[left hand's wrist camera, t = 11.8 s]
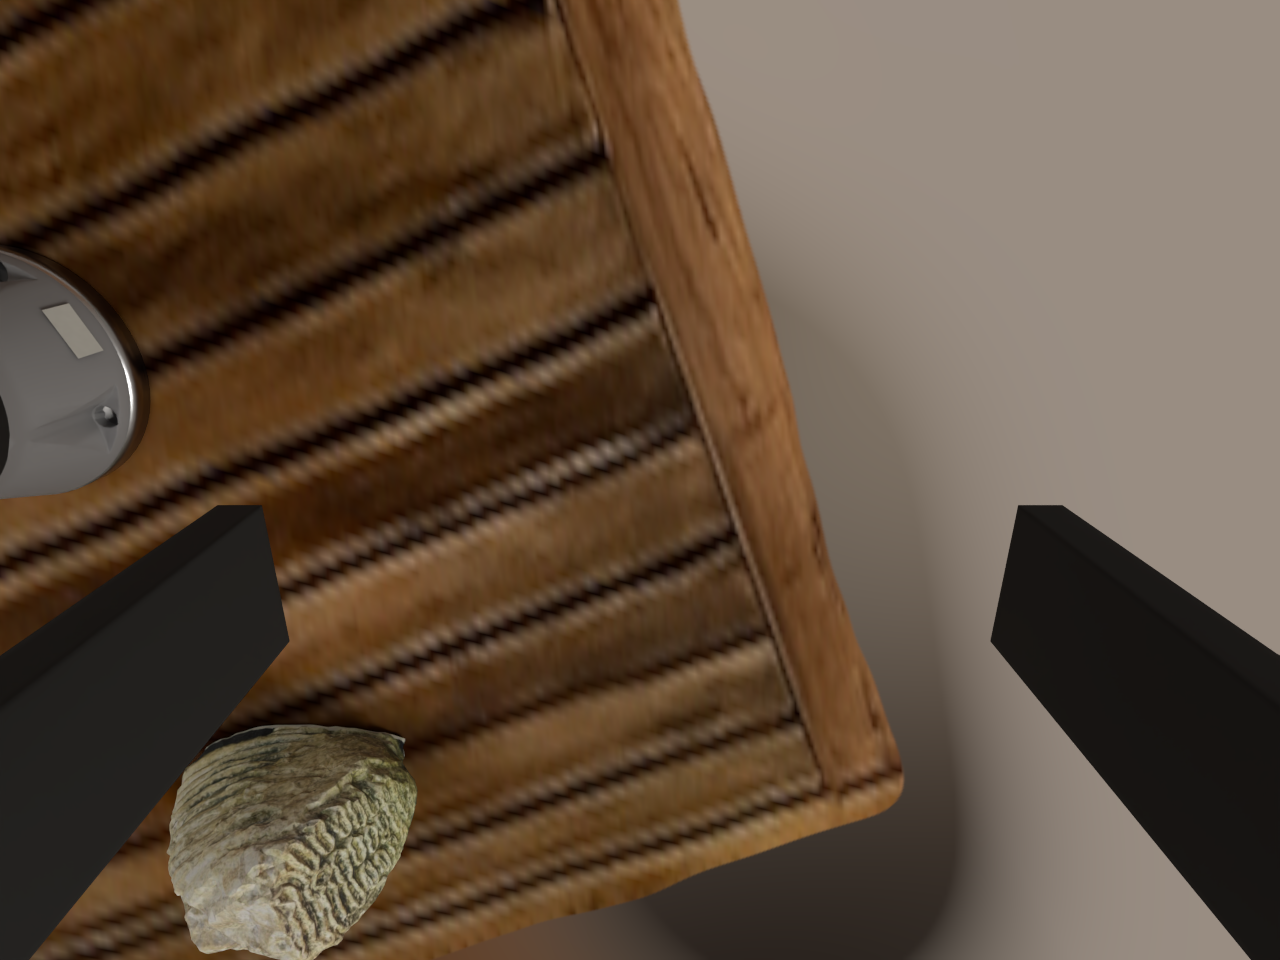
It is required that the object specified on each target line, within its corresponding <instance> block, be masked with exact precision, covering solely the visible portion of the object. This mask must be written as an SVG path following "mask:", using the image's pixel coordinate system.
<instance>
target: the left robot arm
mask: <svg viewBox="0 0 1280 960" xmlns="http://www.w3.org/2000/svg"><path fill="white" fill-rule="evenodd" d="M149 412H150V388H149V381H148V376H147V372H146V368H145V364H144V362H143V359H142V356H141V353H140V351H139V349H138V347H137V344H136V342H135V340H134V339H133V337H132V335H131V333H130V331H129V330H128V328H127V327H126V325H125V324H124V322H123V321H122V319H121V318H120V317H119V315H118V314H117V313H116V311H115V310H114V309H113V308H112V307H111V305H110V304H109V303H108V302H107V301H106V300H105V299H104V298H103V297H102V296H101V295H100V294H99V293H98V292H97V291H96V290H95V289H94V288H93V287H91V286H90V285H89V284H88V283H86V282H85V281H84V280H83V279H81V278H80V277H79V276H77V275H76V274H74V273H73V272H71V271H70V270H68V269H66V268H65V267H63V266H61V265H60V264H58V263H56V262H54V261H52V260H50V259H48V258H46V257H43V256H41V255H38V254H36V253H33V252H30V251H27V250H23V249H20V248H16V247H11V246H5V245H0V499H5V498H16V497H28V496H39V495H51V494H59V493H64V492H68V491H72V490H75V489H78V488H80V487H83V486H85V485H87V484H89V483H91V482H93V481H95V480H97V479H99V478H101V477H103V476H105V475H107V474H109V473H111V472H112V471H114V470H116V469H117V468H118V467H120V466H121V465H122V464H123V463H124V462H125V461H126V460H127V459H128V458H129V457H130V456H131V455H132V454H133V452H134V451H135V450H136V448H137V447H138V445H139V443H140V442H141V439H142V437H143V435H144V433H145V430H146V426H147V423H148V418H149ZM288 642H289V636H288V631H287V626H286V621H285V617H284V612H283V607H282V602H281V597H280V592H279V587H278V582H277V577H276V573H275V568H274V563H273V558H272V553H271V548H270V543H269V538H268V534H267V529H266V524H265V519H264V514H263V509H262V505H217V506H216V507H214V508H213V509H212V510H210V511H209V512H207V513H206V514H204V515H203V516H201V517H200V518H199V519H197V520H196V521H194V522H193V523H191V524H190V525H188V526H187V527H186V528H184V529H183V530H181V531H180V532H178V533H177V534H175V535H174V536H173V537H171V538H170V539H168V540H167V541H165V542H164V543H162V544H161V545H160V546H158V547H157V548H155V549H154V550H152V551H151V552H149V553H148V554H147V555H145V556H144V557H142V558H141V559H139V560H138V561H136V562H135V563H134V564H132V565H131V566H129V567H128V568H126V569H125V570H124V571H122V572H121V573H119V574H118V575H116V576H115V577H113V578H112V579H111V580H109V581H108V582H106V583H105V584H103V585H102V586H100V587H99V588H98V589H96V590H95V591H93V592H92V593H90V594H89V595H87V596H86V597H85V598H83V599H82V600H80V601H79V602H77V603H76V604H74V605H73V606H72V607H70V608H69V609H67V610H66V611H64V612H63V613H61V614H60V615H59V616H57V617H56V618H54V619H53V620H51V621H50V622H48V623H47V624H46V625H44V626H43V627H41V628H40V629H38V630H37V631H35V632H34V633H33V634H31V635H30V636H28V637H27V638H25V639H24V640H22V641H21V642H20V643H18V644H17V645H15V646H14V647H12V648H11V649H9V650H8V651H7V652H5V653H4V654H2V655H1V656H0V960H29V959H30V958H31V957H32V955H33V954H34V953H35V952H36V951H37V949H38V948H39V947H40V946H41V944H42V943H43V942H44V941H45V940H46V938H47V937H48V936H49V935H50V933H51V932H52V931H53V930H54V929H55V927H56V926H57V925H58V924H59V922H60V921H61V920H62V919H63V918H64V916H65V915H66V914H67V913H68V911H69V910H70V909H71V908H72V907H73V905H74V904H75V903H76V902H77V900H78V899H79V898H80V897H81V896H82V894H83V893H84V892H85V891H86V889H87V888H88V887H89V886H90V885H91V883H92V882H93V881H94V880H95V878H96V877H97V876H98V875H99V874H100V872H101V871H102V870H103V869H104V867H105V866H106V865H107V864H108V863H109V861H110V860H111V859H112V858H113V856H114V855H115V854H116V853H117V852H118V850H119V849H120V848H121V847H122V845H123V844H124V843H125V842H126V841H127V839H128V838H129V837H130V836H131V834H132V833H133V832H134V831H135V830H136V828H137V827H138V826H139V825H140V823H141V822H142V821H143V820H144V819H145V817H146V816H147V815H148V814H149V812H150V811H151V810H152V809H153V808H154V806H155V805H156V804H157V803H158V801H159V800H160V799H161V798H162V797H163V795H164V794H165V793H166V792H167V790H168V789H169V788H170V787H171V786H172V784H173V783H174V782H175V781H176V779H177V778H178V777H179V776H180V775H181V773H182V772H183V771H184V770H185V768H186V767H187V766H188V765H189V764H190V762H191V761H192V760H193V759H194V757H195V756H196V755H197V754H198V753H199V751H200V750H201V749H202V748H203V746H204V745H205V744H206V743H207V742H208V740H209V739H210V738H211V737H212V735H213V734H214V733H215V732H216V731H217V729H218V728H219V727H220V726H221V724H222V723H223V722H224V721H225V719H226V718H227V717H228V716H229V715H230V713H231V712H232V711H233V710H234V708H235V707H236V706H237V705H238V704H239V702H240V701H241V700H242V699H243V697H244V696H245V695H246V694H247V693H248V691H249V690H250V689H251V688H252V686H253V685H254V684H255V683H256V682H257V680H258V679H259V678H260V677H261V675H262V674H263V673H264V672H265V671H266V669H267V668H268V667H269V666H270V664H271V663H272V662H273V661H274V660H275V658H276V657H277V656H278V655H279V653H280V652H281V651H282V650H283V649H284V647H285V646H286V645H287V644H288ZM991 642H992V644H993V645H994V646H995V647H996V649H997V650H998V651H999V652H1000V653H1001V655H1002V656H1003V657H1004V658H1005V660H1006V661H1007V662H1008V663H1009V664H1010V666H1011V667H1012V668H1013V669H1014V671H1015V672H1016V673H1017V674H1018V675H1019V677H1020V678H1021V679H1022V680H1023V682H1024V683H1025V684H1026V685H1027V686H1028V688H1029V689H1030V690H1031V691H1032V693H1033V694H1034V695H1035V696H1036V697H1037V699H1038V700H1039V701H1040V702H1041V704H1042V705H1043V706H1044V707H1045V708H1046V710H1047V711H1048V712H1049V713H1050V715H1051V716H1052V717H1053V718H1054V720H1055V721H1056V722H1057V723H1058V724H1059V726H1060V727H1061V728H1062V729H1063V730H1064V732H1065V733H1066V734H1067V735H1068V737H1069V738H1070V739H1071V740H1072V742H1073V743H1074V744H1075V745H1076V746H1077V748H1078V749H1079V750H1080V751H1081V752H1082V754H1083V755H1084V756H1085V757H1086V759H1087V760H1088V761H1089V762H1090V763H1091V765H1092V766H1093V767H1094V768H1095V770H1096V771H1097V772H1098V773H1099V775H1100V776H1101V777H1102V778H1103V779H1104V781H1105V782H1106V783H1107V784H1108V786H1109V787H1110V788H1111V789H1112V790H1113V792H1114V793H1115V794H1116V795H1117V796H1118V798H1119V799H1120V800H1121V801H1122V803H1123V804H1124V805H1125V806H1126V807H1127V809H1128V810H1129V811H1130V812H1131V814H1132V815H1133V816H1134V817H1135V818H1136V820H1137V821H1138V822H1139V823H1140V825H1141V826H1142V827H1143V828H1144V830H1145V831H1146V832H1147V833H1148V834H1149V836H1150V837H1151V838H1152V839H1153V841H1154V842H1155V843H1156V844H1157V845H1158V847H1159V848H1160V849H1161V850H1162V851H1163V853H1164V854H1165V855H1166V856H1167V858H1168V859H1169V860H1170V861H1171V863H1172V864H1173V865H1174V866H1175V867H1176V869H1177V870H1178V871H1179V872H1180V873H1181V875H1182V876H1183V877H1184V878H1185V880H1186V881H1187V882H1188V883H1189V885H1190V886H1191V887H1192V888H1193V889H1194V891H1195V892H1196V893H1197V894H1198V896H1199V897H1200V898H1201V899H1202V900H1203V902H1204V903H1205V904H1206V905H1207V907H1208V908H1209V909H1210V910H1211V911H1212V913H1213V914H1214V915H1215V916H1216V918H1217V919H1218V920H1219V921H1220V922H1221V924H1222V925H1223V926H1224V927H1225V929H1226V930H1227V931H1228V932H1229V933H1230V935H1231V936H1232V937H1233V938H1234V940H1235V941H1236V942H1237V943H1238V944H1239V946H1240V947H1241V948H1242V949H1243V950H1244V952H1245V953H1246V954H1247V955H1248V957H1249V958H1250V959H1251V960H1280V655H1278V654H1276V653H1275V652H1273V651H1272V650H1271V649H1269V648H1268V647H1266V646H1265V645H1263V644H1262V643H1260V642H1259V641H1258V640H1256V639H1255V638H1253V637H1252V636H1250V635H1249V634H1247V633H1246V632H1245V631H1243V630H1242V629H1240V628H1239V627H1237V626H1236V625H1234V624H1233V623H1232V622H1230V621H1229V620H1227V619H1226V618H1224V617H1223V616H1221V615H1220V614H1219V613H1217V612H1216V611H1214V610H1213V609H1211V608H1210V607H1208V606H1207V605H1205V604H1204V603H1203V602H1201V601H1200V600H1198V599H1197V598H1195V597H1194V596H1193V595H1191V594H1190V593H1188V592H1187V591H1185V590H1184V589H1182V588H1181V587H1180V586H1178V585H1177V584H1175V583H1174V582H1172V581H1171V580H1169V579H1168V578H1167V577H1165V576H1164V575H1162V574H1161V573H1159V572H1158V571H1156V570H1155V569H1154V568H1152V567H1151V566H1149V565H1148V564H1146V563H1145V562H1144V561H1142V560H1141V559H1139V558H1138V557H1136V556H1135V555H1133V554H1132V553H1131V552H1129V551H1128V550H1126V549H1125V548H1123V547H1122V546H1120V545H1119V544H1118V543H1116V542H1115V541H1113V540H1112V539H1110V538H1109V537H1107V536H1106V535H1105V534H1103V533H1102V532H1100V531H1099V530H1097V529H1096V528H1094V527H1093V526H1092V525H1090V524H1089V523H1087V522H1086V521H1084V520H1083V519H1081V518H1080V517H1078V516H1077V515H1076V514H1074V513H1073V512H1071V511H1070V510H1068V509H1067V508H1066V507H1064V506H1063V505H1018V509H1017V514H1016V519H1015V524H1014V529H1013V533H1012V538H1011V543H1010V548H1009V553H1008V558H1007V563H1006V568H1005V573H1004V578H1003V582H1002V587H1001V592H1000V597H999V602H998V607H997V612H996V617H995V622H994V626H993V631H992V636H991Z"/></svg>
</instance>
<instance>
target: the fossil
mask: <svg viewBox="0 0 1280 960" xmlns="http://www.w3.org/2000/svg"><path fill="white" fill-rule="evenodd" d="M404 742H405V739H404V738H401V737H398V736H396V735H393V734H389V733H386V732H373V731H368V730H363V729H358V728H345V727H339V726H333V727H324V726H318V725H271V726H261V727H256V728H252V729H249V730H247V731H243V732H239V733H236V734H234V735H233V736H231V737H229V738H223V739H220V740H218V741H216V742H214V743H213V744H211V745H210V746H208V747H206V749H205V751H204V753H203V754H202V755H201V756H200V757H199V758H198V760H196V761H195V762H193V763H192V764H191V765H189V766H188V767H187V768H186V769H185V771H184V774H183V776H182V785H181V787H180V788H179V789H178V791H177V798H176V802H175V807H174V810H173V812H172V813H173V814H172V816H171V818H172V820H171V823H170V835H171V841H170V846H169V849H168V851H167V853H168V854H169V855H170V859H169V863H168V864H169V867H168V869H169V874H170V876H171V877H172V880H171V881H172V883H173V885H174V892H175V893H176V894H177V896H178V895H181V898H182V901H183V903H184V907H185V913H186V914H185V920H186V922H187V924H188V927H189V930H190V934H191V939H192V941H193V942H194V943H195V944H196V946H197V947H198V949H199V950H200V951H201V952H204V953H207V954H209V953H214V952H219V951H223V950H227V949H235V950H242V949H246V950H249V951H250V952H253V953H257V954H261V955H265V956H268V957H271V958H276V959H280V960H313V959H314V958H316V957H317V956H318V955H319V954H320V953H321V952H322V951H323V950H324V949H327V948H329V947H331V946H334V945H337V944H338V943H339V942H340V941H342V940H343V936H344V934H345V933H346V932H347V931H348V930H349V929H350V927H351V926H352V925H353V924H355V923H356V922H357V921H358V920H359V919H360V918H361V916H362V915H363V914H364V913H365V911H366V910H367V909H368V908H369V907H370V906H371V905H372V904H373V903H374V901H375V900H376V898H377V897H378V895H379V894H380V892H381V891H382V889H383V887H384V885H385V882H386V879H387V875H388V874H389V873H390V872H391V870H392V869H393V868H394V866H395V864H396V863H397V861H398V859H399V858H400V853H401V851H402V850H403V845H404V843H405V841H406V838H407V834H408V831H409V827H410V824H411V821H412V818H413V815H414V809H415V805H416V798H417V787H416V783H415V780H414V779H413V777H412V776H411V775H410V774H409V772H408V771H407V769H406V768H405V766H404V765H403V763H402V762H403V759H404V756H405V755H404V750H403V745H404Z"/></svg>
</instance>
